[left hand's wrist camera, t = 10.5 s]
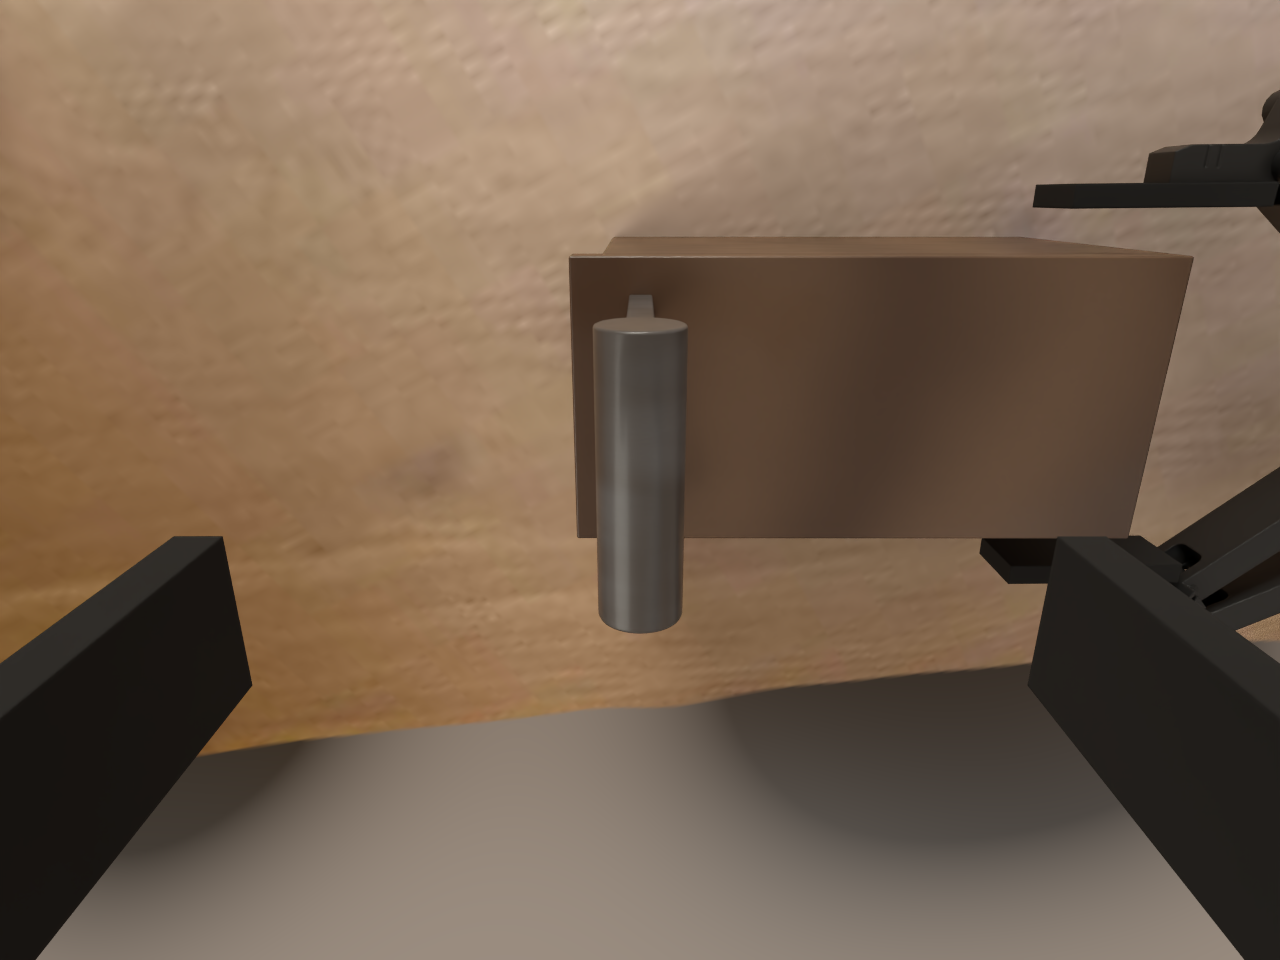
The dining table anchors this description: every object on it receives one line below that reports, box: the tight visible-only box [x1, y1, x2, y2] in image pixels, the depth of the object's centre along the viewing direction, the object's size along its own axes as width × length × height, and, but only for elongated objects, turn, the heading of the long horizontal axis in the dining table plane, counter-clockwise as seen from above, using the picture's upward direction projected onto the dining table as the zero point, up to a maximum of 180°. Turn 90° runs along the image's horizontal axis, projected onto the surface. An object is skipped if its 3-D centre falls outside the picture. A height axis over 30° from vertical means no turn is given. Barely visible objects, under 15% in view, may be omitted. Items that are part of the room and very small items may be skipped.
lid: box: [569, 254, 1193, 633], centre depth 21 cm, size 18×9×9 cm, turn 90°
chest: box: [603, 237, 1168, 254], centre depth 30 cm, size 18×9×10 cm, turn 90°
